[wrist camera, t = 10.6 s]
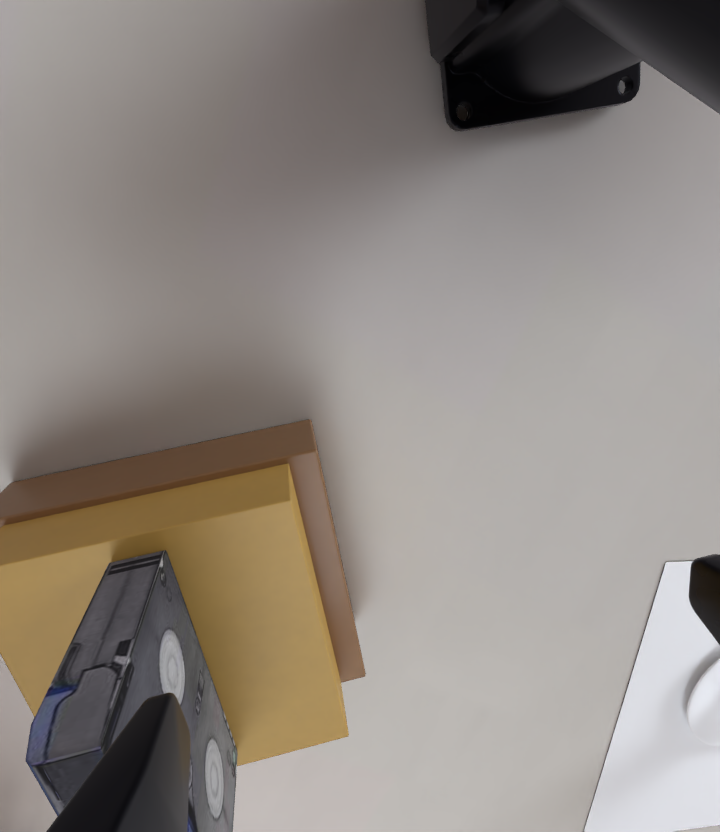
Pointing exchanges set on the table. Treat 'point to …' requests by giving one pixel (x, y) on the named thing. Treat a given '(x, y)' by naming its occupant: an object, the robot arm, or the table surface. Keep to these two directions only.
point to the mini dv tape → (134, 690)
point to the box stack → (197, 574)
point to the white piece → (666, 725)
